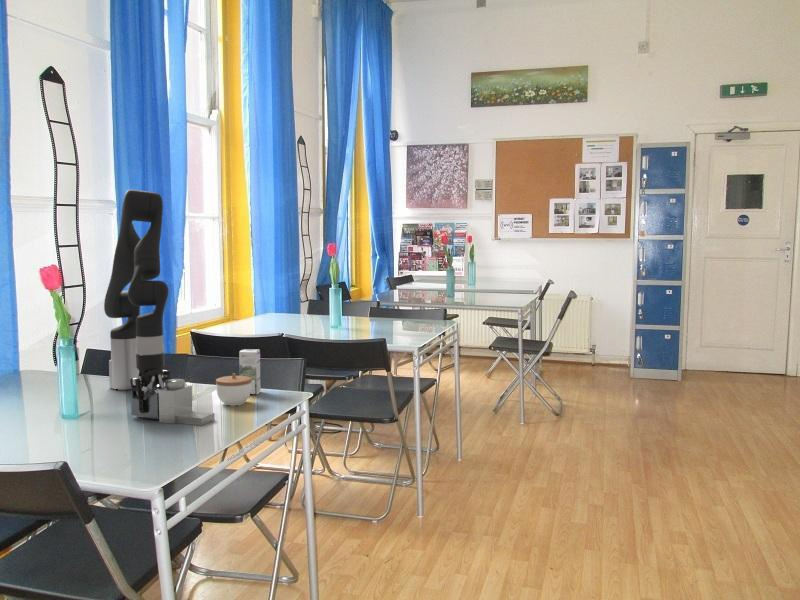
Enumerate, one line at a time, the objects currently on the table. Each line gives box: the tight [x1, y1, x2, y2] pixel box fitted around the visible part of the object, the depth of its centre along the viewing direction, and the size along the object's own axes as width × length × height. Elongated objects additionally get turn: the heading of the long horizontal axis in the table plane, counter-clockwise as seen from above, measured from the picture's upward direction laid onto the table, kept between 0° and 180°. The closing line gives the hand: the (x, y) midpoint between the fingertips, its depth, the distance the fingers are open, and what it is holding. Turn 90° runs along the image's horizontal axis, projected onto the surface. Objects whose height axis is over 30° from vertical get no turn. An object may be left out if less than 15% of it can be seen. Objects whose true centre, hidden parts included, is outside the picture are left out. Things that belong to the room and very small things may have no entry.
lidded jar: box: [215, 372, 252, 407], centre depth 208 cm, size 11×11×9 cm
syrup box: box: [238, 348, 262, 394], centre depth 222 cm, size 6×6×14 cm
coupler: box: [136, 378, 216, 426], centre depth 189 cm, size 23×8×11 cm, turn 71°
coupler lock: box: [130, 387, 164, 419], centre depth 191 cm, size 10×6×7 cm, turn 71°
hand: (151, 409), depth 191 cm, fingers closed on coupler lock, 6 cm apart
